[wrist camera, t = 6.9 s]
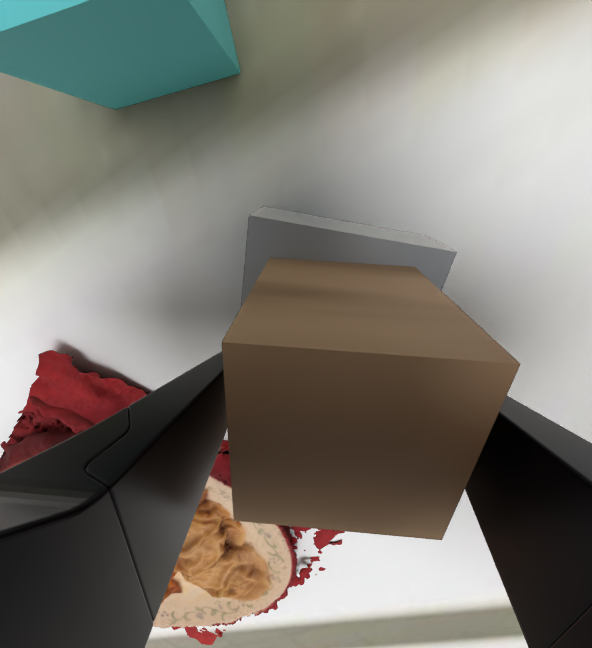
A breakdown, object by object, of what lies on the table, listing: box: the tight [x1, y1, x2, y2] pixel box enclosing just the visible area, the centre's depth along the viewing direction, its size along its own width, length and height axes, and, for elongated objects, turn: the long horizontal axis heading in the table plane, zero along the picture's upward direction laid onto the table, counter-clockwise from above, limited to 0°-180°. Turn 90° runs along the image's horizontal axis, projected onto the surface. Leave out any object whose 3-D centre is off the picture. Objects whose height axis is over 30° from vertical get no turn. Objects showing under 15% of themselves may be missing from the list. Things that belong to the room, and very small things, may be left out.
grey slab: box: [241, 206, 457, 307], centre depth 13 cm, size 7×7×4 cm
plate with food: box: [0, 350, 344, 645], centre depth 23 cm, size 25×26×4 cm
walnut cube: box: [222, 258, 520, 540], centre depth 9 cm, size 5×5×6 cm
